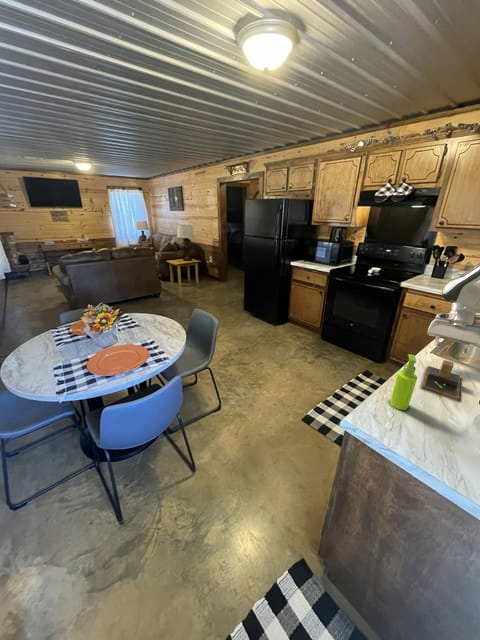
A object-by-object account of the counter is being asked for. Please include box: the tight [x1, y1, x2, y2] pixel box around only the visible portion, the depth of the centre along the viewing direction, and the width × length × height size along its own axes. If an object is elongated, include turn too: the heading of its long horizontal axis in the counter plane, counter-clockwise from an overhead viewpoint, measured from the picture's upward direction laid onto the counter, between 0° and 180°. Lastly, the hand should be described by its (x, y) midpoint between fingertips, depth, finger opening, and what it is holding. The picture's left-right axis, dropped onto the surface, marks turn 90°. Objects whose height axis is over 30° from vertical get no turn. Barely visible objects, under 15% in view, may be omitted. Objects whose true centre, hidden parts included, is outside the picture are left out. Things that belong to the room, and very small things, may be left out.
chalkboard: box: [421, 365, 461, 401], centre depth 111 cm, size 20×12×1 cm, turn 141°
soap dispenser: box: [389, 353, 418, 411], centre depth 95 cm, size 6×7×20 cm
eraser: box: [427, 359, 459, 388], centre depth 109 cm, size 10×5×8 cm, turn 51°
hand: (451, 349), depth 112 cm, fingers open, 8 cm apart
